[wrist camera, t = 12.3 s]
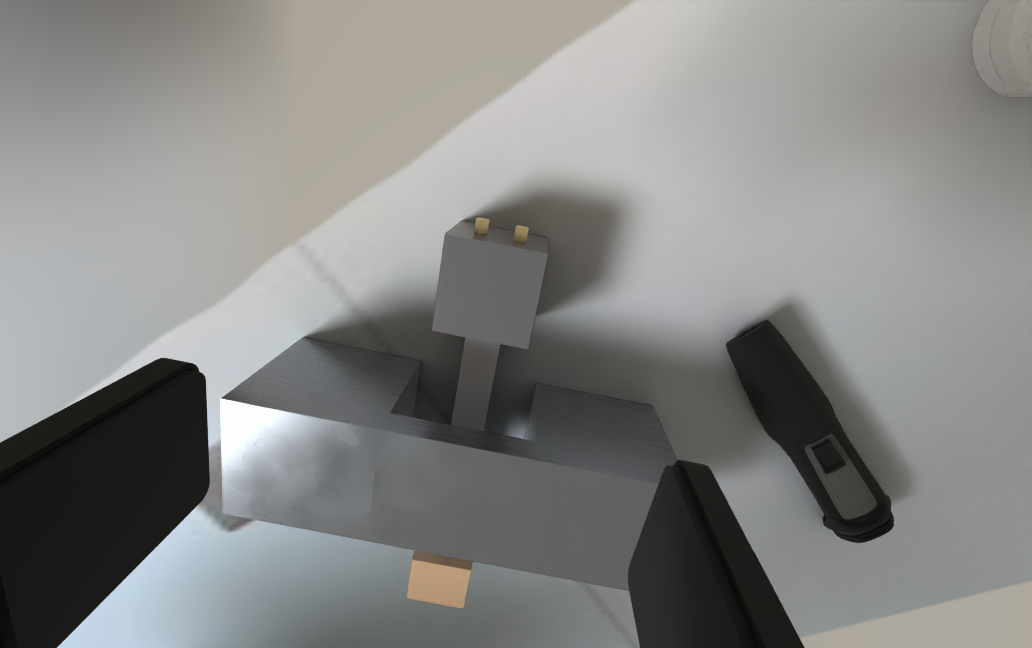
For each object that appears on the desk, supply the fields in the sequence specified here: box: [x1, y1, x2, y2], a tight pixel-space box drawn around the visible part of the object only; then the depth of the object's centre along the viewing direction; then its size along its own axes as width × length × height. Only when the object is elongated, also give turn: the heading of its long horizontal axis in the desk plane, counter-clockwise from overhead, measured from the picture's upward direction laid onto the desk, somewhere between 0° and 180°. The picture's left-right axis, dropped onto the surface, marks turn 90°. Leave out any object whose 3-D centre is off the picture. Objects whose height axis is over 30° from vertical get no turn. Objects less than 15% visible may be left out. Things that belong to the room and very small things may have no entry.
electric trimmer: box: [726, 320, 894, 543], centre depth 26 cm, size 4×16×3 cm, turn 36°
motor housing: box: [221, 337, 677, 591], centre depth 24 cm, size 6×20×7 cm, turn 79°
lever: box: [407, 217, 548, 609], centre depth 25 cm, size 22×4×4 cm, turn 169°
